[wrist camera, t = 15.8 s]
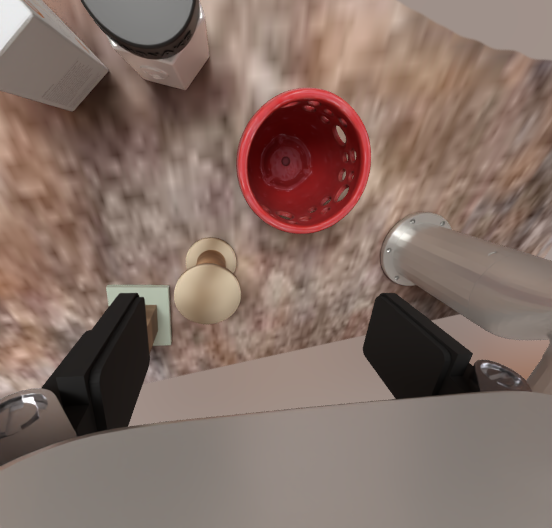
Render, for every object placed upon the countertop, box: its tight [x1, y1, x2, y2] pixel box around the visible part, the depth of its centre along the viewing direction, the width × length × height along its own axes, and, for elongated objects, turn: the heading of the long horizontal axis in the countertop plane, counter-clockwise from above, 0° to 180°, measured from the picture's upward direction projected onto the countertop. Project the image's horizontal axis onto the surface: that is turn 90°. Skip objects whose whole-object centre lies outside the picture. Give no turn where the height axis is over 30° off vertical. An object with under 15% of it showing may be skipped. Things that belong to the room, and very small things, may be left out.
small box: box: [0, 0, 109, 112], centre depth 22 cm, size 8×6×13 cm
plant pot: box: [236, 88, 371, 234], centre depth 30 cm, size 13×13×12 cm
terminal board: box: [106, 285, 172, 346], centre depth 39 cm, size 8×10×1 cm
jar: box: [81, 0, 210, 90], centre depth 23 cm, size 9×8×12 cm
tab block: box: [145, 305, 158, 354], centre depth 35 cm, size 4×4×8 cm
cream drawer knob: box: [174, 237, 241, 324], centre depth 34 cm, size 7×7×11 cm
